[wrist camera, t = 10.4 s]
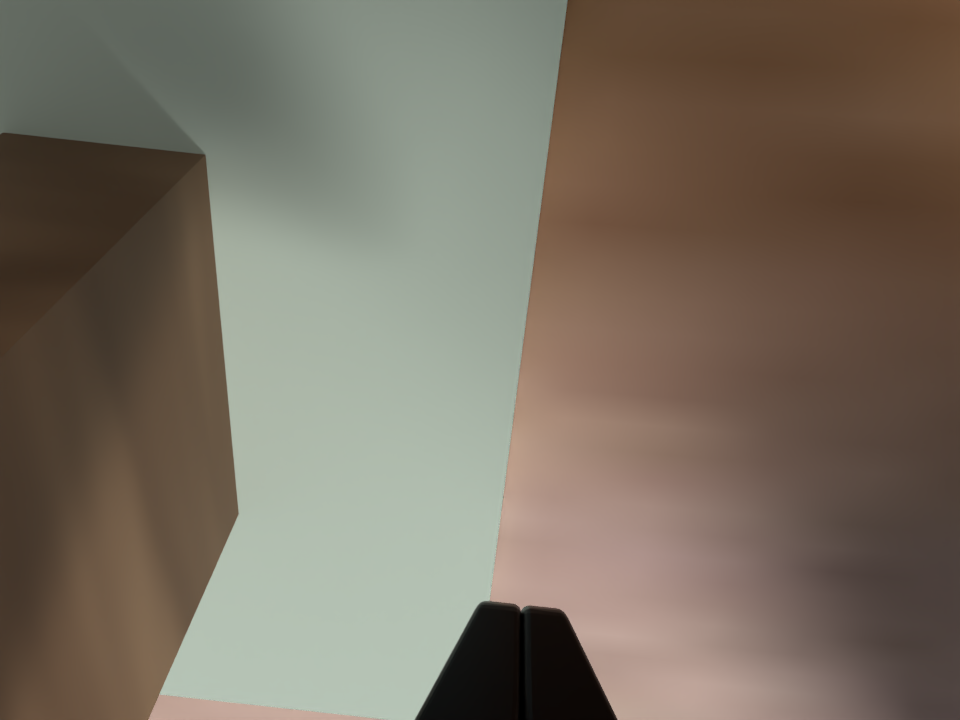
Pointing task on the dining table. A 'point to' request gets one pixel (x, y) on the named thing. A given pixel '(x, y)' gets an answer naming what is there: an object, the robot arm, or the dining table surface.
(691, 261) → the dining table surface
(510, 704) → the robot arm
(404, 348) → the mat
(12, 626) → the walnut slab
